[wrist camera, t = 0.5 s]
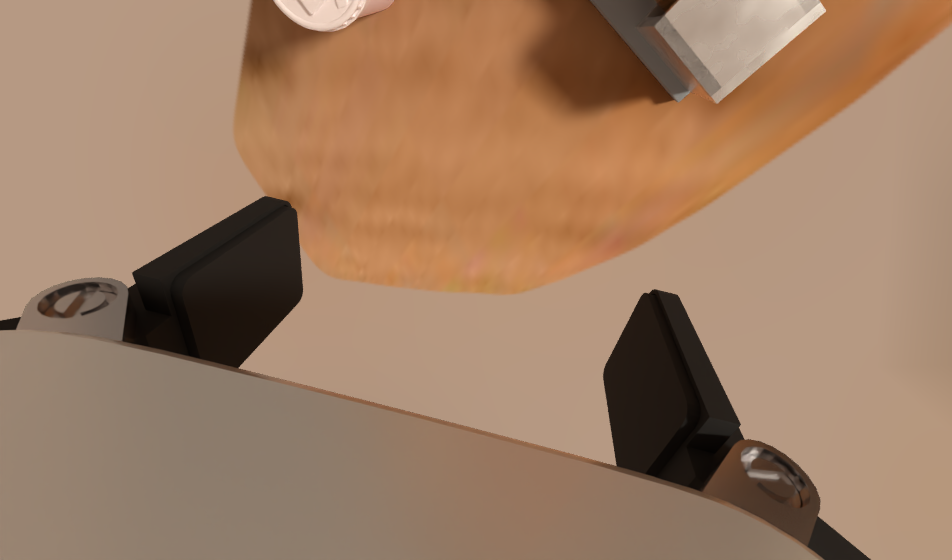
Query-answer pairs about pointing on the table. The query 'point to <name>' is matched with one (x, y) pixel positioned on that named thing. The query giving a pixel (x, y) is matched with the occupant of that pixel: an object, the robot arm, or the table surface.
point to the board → (640, 39)
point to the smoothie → (329, 12)
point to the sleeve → (723, 38)
